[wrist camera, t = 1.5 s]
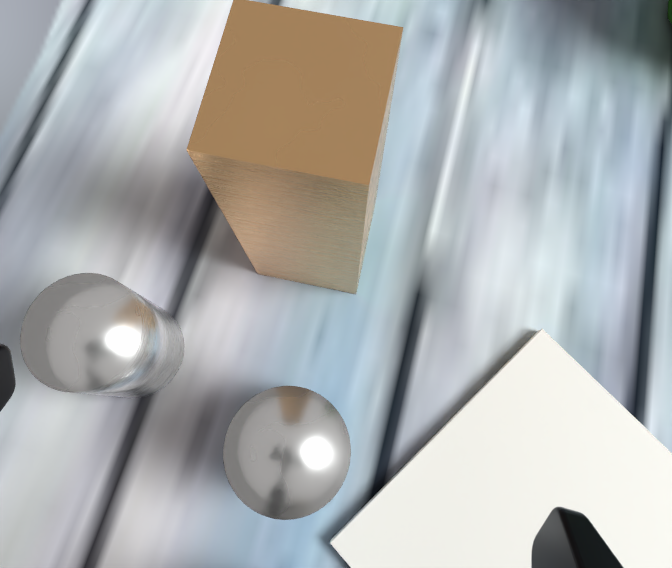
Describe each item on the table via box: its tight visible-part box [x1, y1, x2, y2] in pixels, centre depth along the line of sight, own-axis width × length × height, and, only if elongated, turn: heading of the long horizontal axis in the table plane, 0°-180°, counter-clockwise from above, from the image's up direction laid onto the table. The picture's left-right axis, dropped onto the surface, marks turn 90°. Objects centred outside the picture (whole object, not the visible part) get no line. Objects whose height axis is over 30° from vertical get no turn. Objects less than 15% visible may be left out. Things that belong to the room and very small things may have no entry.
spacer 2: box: [223, 386, 351, 520], centre depth 19 cm, size 4×4×5 cm
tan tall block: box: [187, 0, 403, 294], centre depth 18 cm, size 4×4×11 cm
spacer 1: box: [20, 273, 184, 398], centre depth 20 cm, size 4×4×5 cm
